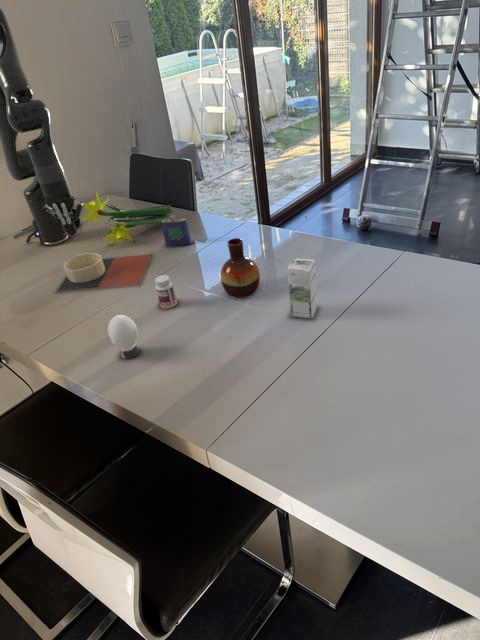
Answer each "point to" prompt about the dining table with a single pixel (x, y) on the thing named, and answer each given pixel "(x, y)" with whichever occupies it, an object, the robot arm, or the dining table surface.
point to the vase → (239, 272)
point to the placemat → (114, 273)
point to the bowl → (84, 267)
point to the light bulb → (124, 335)
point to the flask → (176, 232)
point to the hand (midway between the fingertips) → (73, 234)
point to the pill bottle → (165, 292)
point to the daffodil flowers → (120, 229)
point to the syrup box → (302, 288)
